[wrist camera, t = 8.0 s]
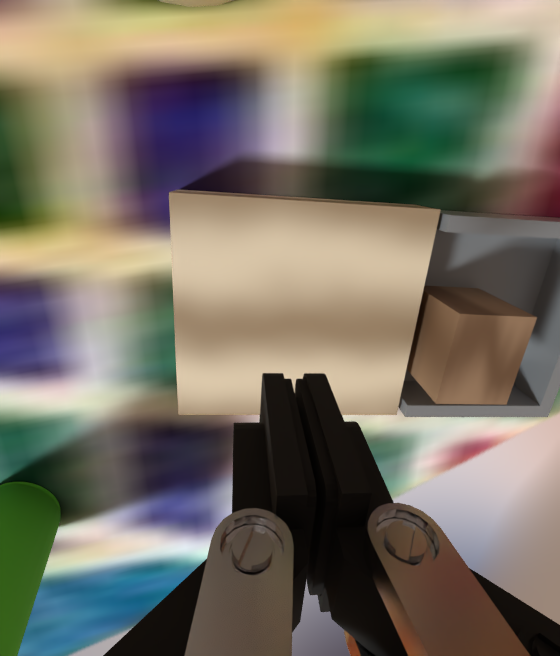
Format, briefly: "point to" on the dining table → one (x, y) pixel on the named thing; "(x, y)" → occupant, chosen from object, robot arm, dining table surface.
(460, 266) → the bin
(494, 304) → the block
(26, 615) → the cup
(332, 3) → the dining table surface
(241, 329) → the board
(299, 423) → the robot arm
